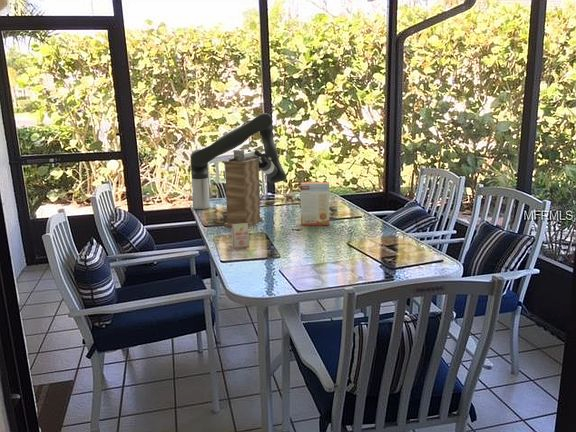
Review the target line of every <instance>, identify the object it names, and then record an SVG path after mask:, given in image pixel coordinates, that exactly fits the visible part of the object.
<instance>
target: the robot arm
mask: <svg viewBox="0 0 576 432" xmlns="http://www.w3.org/2000/svg"><path fill="white" fill-rule="evenodd" d="M257 133H260V134H259V135H260V137H261V140H262V145H263V149H264V153H263V152H261V153H260V152H259V151H258V150H259V149H254V150H255V154H256V155H257V156H258V157H255V158H260V161H259V171H261V172H262V173H264V174H265V175H266V177H267V181H268V182H269V183H270V184H276V183H280V182H284V181H285V180H286V179H287V177H286V176H287V174H286V171H285V170H284V168H283V167H282V164H281V162H280V159H279V154H278V150H277V146H276V143H275V141H274V137H273V117H272V116H271V115H270V114H269V113H268V112H267V113H265V112H264V113H263V112H262V113H260V114H258V115H257V116H255V117H253V118H252V119H251V120H249V121H248V122H247V123H245V124H242V125H241V126H239V127H237V128H234V129H233V130H230V131H228V132H227V133H225V134H223V135H222V136H220V137H219V138H218V139H217V140H215V141H214V142H213V143H211V144H210V145H208V146H206V147H203V148H202V149H201V148H200V149H195V150H193V151H192V152H191V155H190V169H191V170H190V171H191V186H192V187H191V189H192V192H191V195H192V196H191V197H192V209H193V210H194V209H196V210H205V209H209V208H210V207H211V206H210V189H209V188H210V187H209V186H210V185H209V171H208V163H209V162H211V161H212V160H214V159H216V158H217V157H219V156H221V155H223V154H225V153H229V152H230V151H231V150H233V149H235V148H237V147H239V146H241V145H242V144H244V143H245V142H246V141H247V140H248V139H250V137H252V136H253V135H254V134H257ZM248 151H252V150H251V149H248V150H247V152H248Z"/></svg>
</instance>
